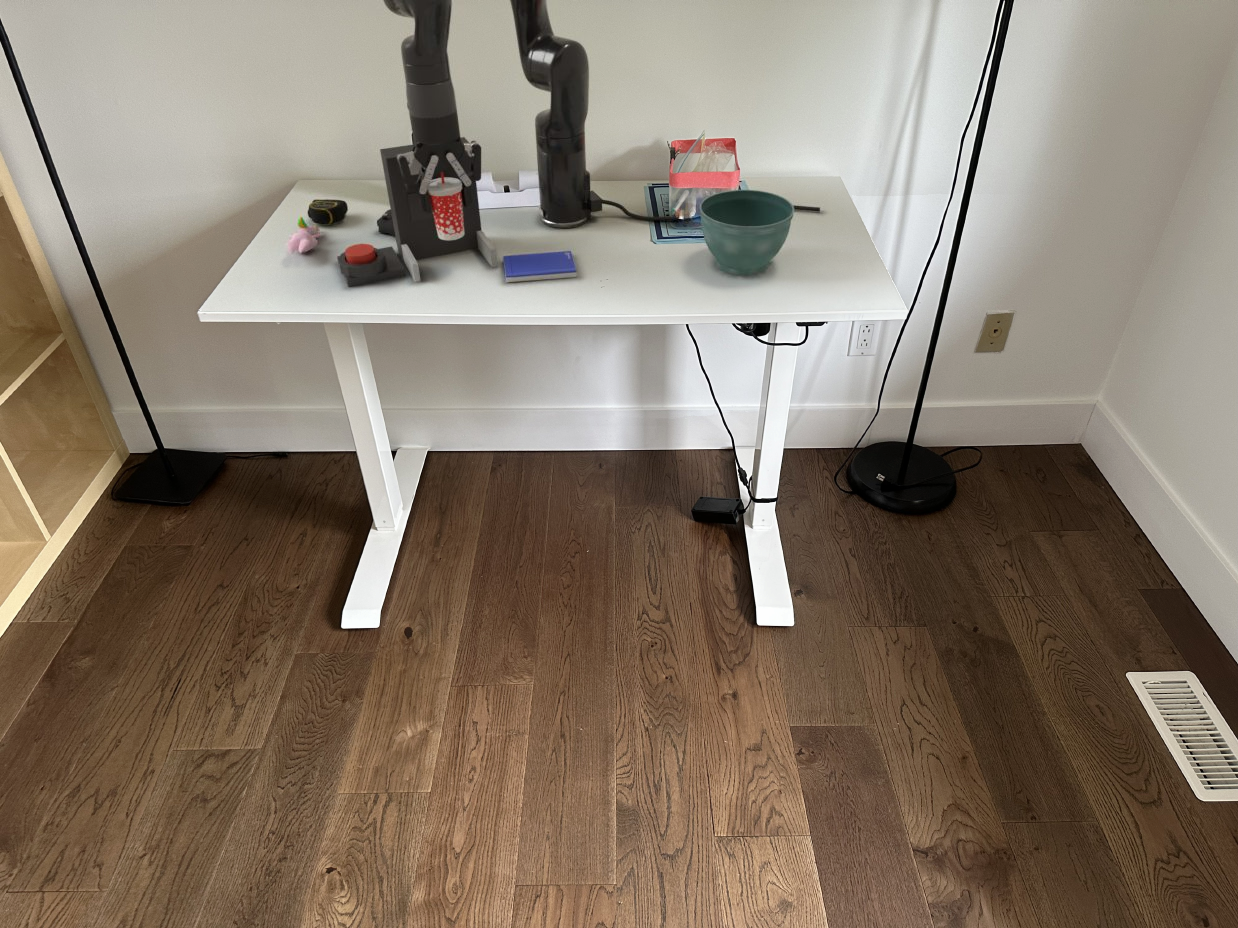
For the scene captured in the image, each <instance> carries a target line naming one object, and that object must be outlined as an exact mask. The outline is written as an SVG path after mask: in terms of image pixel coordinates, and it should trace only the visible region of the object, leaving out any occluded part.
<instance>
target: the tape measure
mask: <svg viewBox="0 0 1238 928" xmlns="http://www.w3.org/2000/svg"><path fill="white" fill-rule="evenodd" d="M348 211H349V207H348V203H347V202H346V201H345V200H342V199H332V198H331V199H313V200H312V201H311V203H310V204H308V209H307V216H308V218H309V219H310V220H311V221H312V222H313V223H314V224H315V225H316V224H317V225H323V226H327V225H329V226H332V225H334V224H338V223H340V222H342V221H343V220H344V219H345V217H346V214H347V213H348Z"/></svg>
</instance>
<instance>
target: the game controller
mask: <svg viewBox="0 0 1238 928" xmlns="http://www.w3.org/2000/svg"><path fill="white" fill-rule="evenodd" d="M376 225H377V227H378V231H377V232H378V233H379V234H382V235H384V234H389V235H392V236H393V237H396V236H395V231H394V225H393V220H392V214H391V208H389V209H388V210H387V209H386V211H385V212H384V213H383V214H382V216H380V217H379V218H378V219H377V220H376Z"/></svg>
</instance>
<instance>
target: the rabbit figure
mask: <svg viewBox="0 0 1238 928" xmlns="http://www.w3.org/2000/svg"><path fill="white" fill-rule="evenodd" d="M297 226H298V231H297V232H295V233H294V234H289V236H288V237H289V238H290V239H289V241H288V242H287V243H286V245H285V246H286V248H287V251H288V252H289V253H290V254H291V255H293V254H294V253H295V251H296V252H298V253H299V254H302V253H307V252H310V250H312V249H313V248H315V247H316V246H318V240H317V238H320V237H322V236H324V233H323V232H320V229H319V226H318V224H316V223H315V224H314V226H313V225H308V224H307V223H306V221H305V220H304V218H303V216H300V217H299V218H298V221H297ZM319 232H320V233H319Z"/></svg>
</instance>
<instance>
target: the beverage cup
mask: <svg viewBox="0 0 1238 928" xmlns="http://www.w3.org/2000/svg"><path fill="white" fill-rule="evenodd" d="M440 174H441V178H438V179H434V180H431V182H429V185H428V188H427V193H428V194H429V198H430V202H431V207H432V211H433V216H434V220H435V224H436V229H437V233H438V237H439V238H440V239H442V240H456V239H459V238H461V237H463V236H464V221H463V208H462V195H461V190H462V182H461V181H460V180H459V179H456V178H446V177H445V178H444V174H443V172H442V173H440Z"/></svg>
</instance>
